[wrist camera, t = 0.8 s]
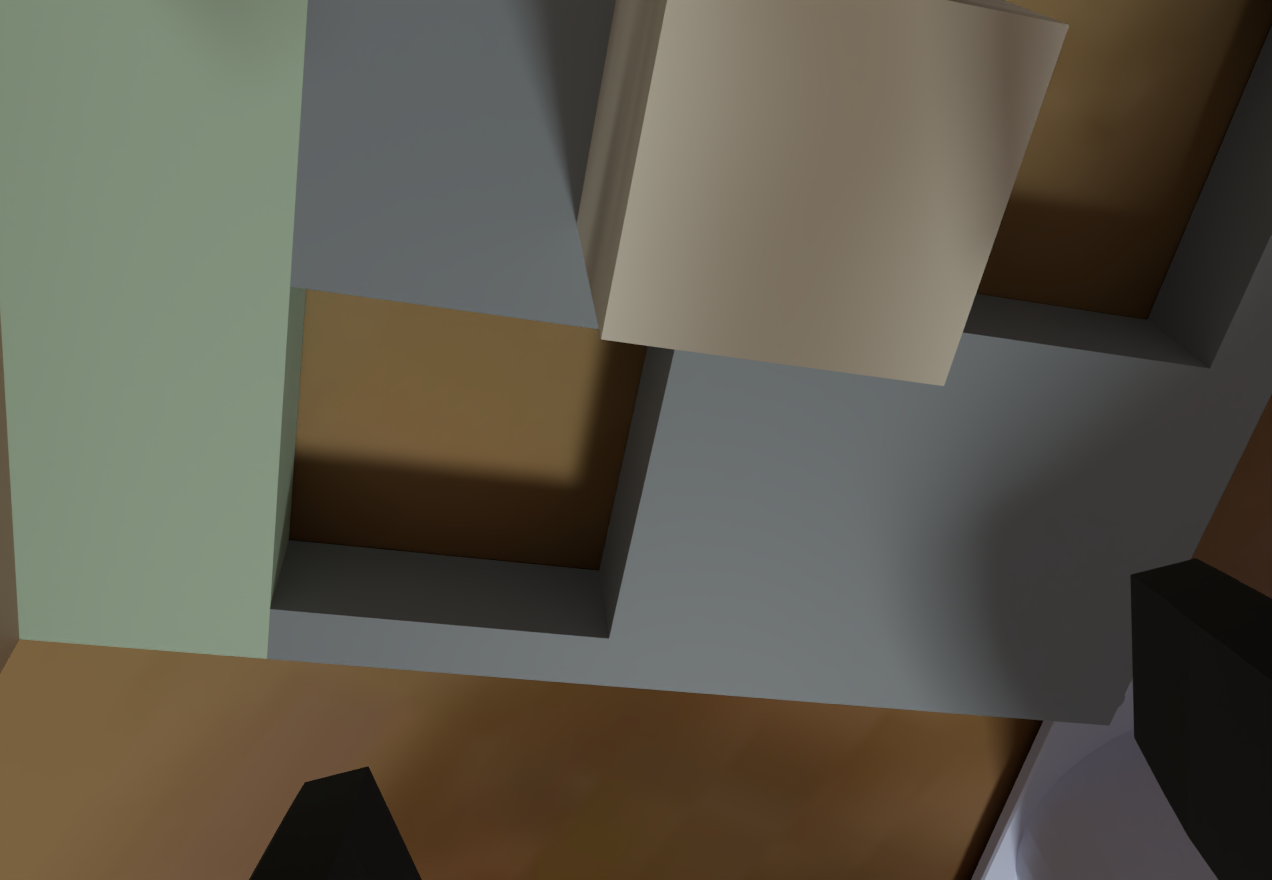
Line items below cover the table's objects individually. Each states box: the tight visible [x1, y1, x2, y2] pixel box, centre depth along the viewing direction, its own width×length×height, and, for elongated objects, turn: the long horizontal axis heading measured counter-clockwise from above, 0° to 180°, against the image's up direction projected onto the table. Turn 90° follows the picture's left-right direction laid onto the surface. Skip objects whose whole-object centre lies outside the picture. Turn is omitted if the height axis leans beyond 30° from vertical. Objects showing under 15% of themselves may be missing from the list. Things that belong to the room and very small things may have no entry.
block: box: [577, 0, 1069, 386], centre depth 14 cm, size 4×4×4 cm
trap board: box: [0, 0, 1272, 726], centre depth 17 cm, size 20×15×4 cm
